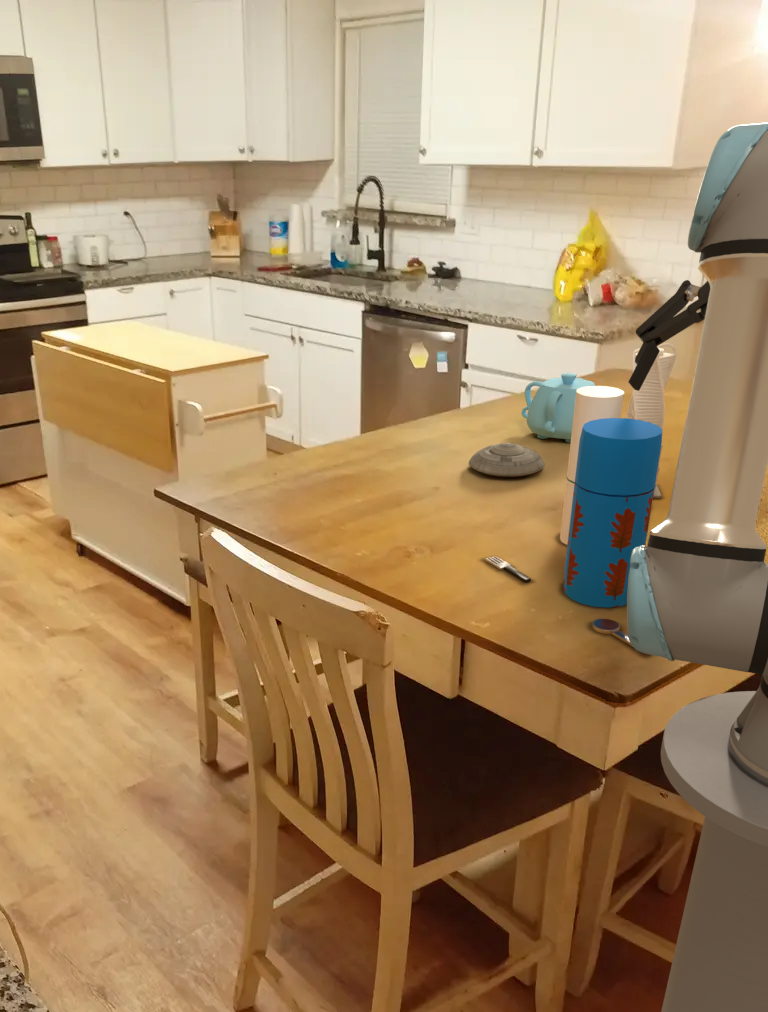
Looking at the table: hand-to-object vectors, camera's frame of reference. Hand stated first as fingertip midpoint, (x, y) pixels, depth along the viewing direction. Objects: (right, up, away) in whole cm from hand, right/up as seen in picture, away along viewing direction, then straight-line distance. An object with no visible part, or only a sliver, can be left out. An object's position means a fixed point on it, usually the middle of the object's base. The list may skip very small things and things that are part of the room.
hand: (675, 397), depth 136 cm
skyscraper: (+10, -7, +43) cm, 45 cm away
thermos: (-9, -28, +6) cm, 30 cm away
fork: (-21, -24, +14) cm, 35 cm away
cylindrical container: (-6, -18, +24) cm, 31 cm away
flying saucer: (-11, -1, +57) cm, 58 cm away
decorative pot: (+6, +11, +76) cm, 77 cm away
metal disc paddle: (-10, -35, -6) cm, 37 cm away
